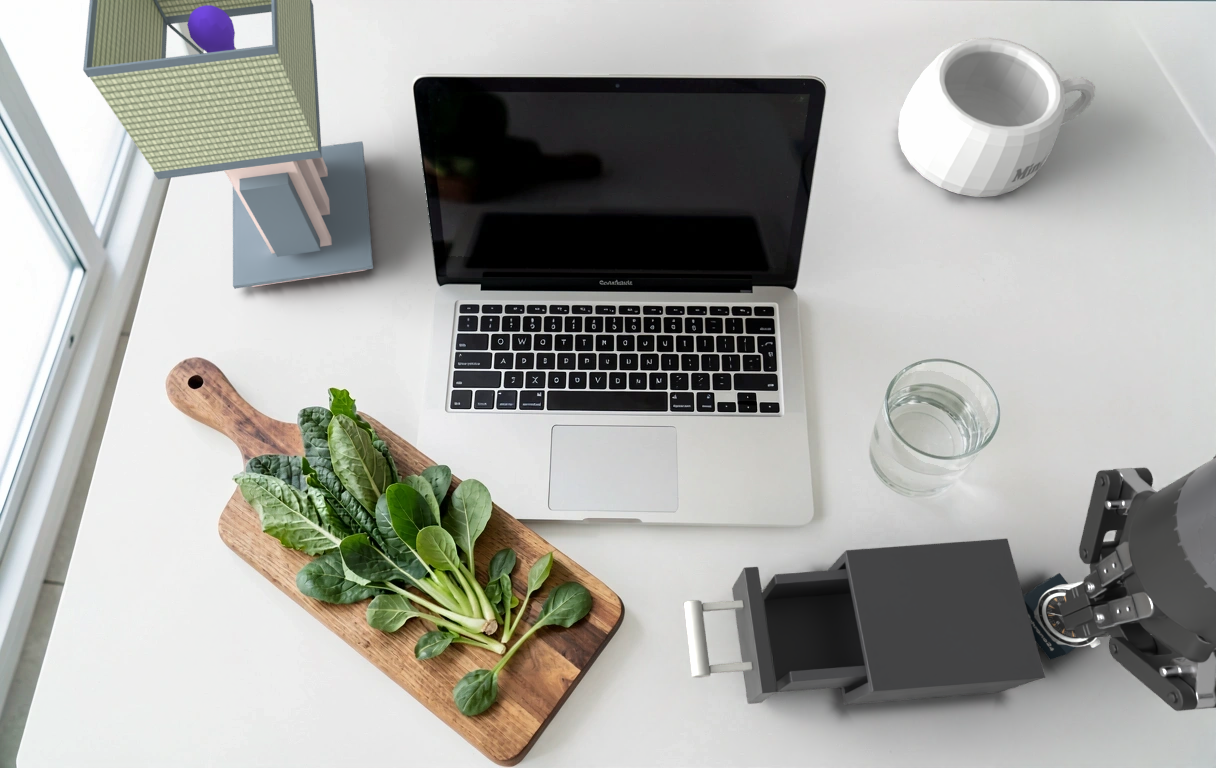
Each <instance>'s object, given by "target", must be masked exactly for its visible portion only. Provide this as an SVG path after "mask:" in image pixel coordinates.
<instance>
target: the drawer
mask: <svg viewBox="0 0 1216 768" xmlns="http://www.w3.org/2000/svg"><path fill="white" fill-rule="evenodd" d="M827 570H828V569H827ZM827 570H816V571H802V572H789V573H776V574H774V575H773V576H772V577H771V579H770V580H769V582H768V583H767V585H766V586H765V587H764V589H763V590H762V585H761V578H760V570H759V566H747V567H743V569H742V570H741V572H740V574H739V576H738V577H737V579H736V581H735V583H734V584H733V586H732V587H731V591H732V597H733V600H727V601H715V602H702V600H699V599H695V600H693V599H692V600H687V601H685V602H683V609H684V617H685V626H686V635H687V645H688V653H689V654H688V655H689V661H690V663H689V664H690V672H691V678H694V679H700V678H701V679H702V678H708V677H710V676H711V674H721V673H723V674H724V673H735V672H743V678H744V686H745V694H746V701H747V704H748V705H752V704H762V703H763V702H764V701H766V700H767V699H769V698H770V697H772V696H773V695H775V694H776V693H789V692H801V691H803V692H804V691H814V690H815V691H816V690H828V689H839V688H840V689H841V687H853V686H862V685H864V684H866V683H868V678H867V673H866V668H865V663H864V658H863V652H862V647H861V642H860V637H859V632H858V626H857V621H856V616H855V611H854V606H853V600H852V595H851V590H850V585H849V580H848V574H847V569H841V570H828V571H827ZM731 610H734V612H735V620H736V626H737V627H736V628H737V634H738V641H739V649H740V650H739V651H740V657H741V662H733V663H719V664H710V661H709V659H710V658H709V652H708V650H709V649H708V643H707V635H706V627H705V626H706V625H705V617H704V612H717V611H731Z"/></svg>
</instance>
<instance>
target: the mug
mask: <svg viewBox="0 0 1216 768" xmlns="http://www.w3.org/2000/svg"><path fill="white" fill-rule="evenodd" d="M1071 92H1080V96H1079V97H1078V98H1077V99H1076V101H1075V102H1073V103H1072V104H1071V105H1070V106H1068V107H1066V94H1068V93H1071ZM1095 96H1096V86H1095V84H1094V83H1093V81H1091V80H1089V79H1087V78H1085V77H1082V76H1081V77H1080V76H1078V77H1071V78H1067V79H1064V80H1061V77H1060V75H1059V74H1058V72H1057V70H1055V68H1054V67H1053V66H1052V64H1051V63H1050V62H1048V61H1047V59H1045V58H1044V57H1043V56H1042V55H1040V54H1039V53H1038V52H1036V51H1035V50H1033V49H1031V48H1029V47H1027V46H1026V45H1023V44H1020V43H1017V42H1015V41H1011V40H1008V39H1002V38H996V37H974V38H970V39H967V40H962V41H959V42H957V43H955V44H953V45H952V46H950V47H948V48H946V49H945V50H943V51H941V52H940V53H939V54H938V55H937V56H936V57H935V58H934V59H933V60H932V61H931V62H930V63H929V64H928V65H927V67H926V68H925V69H924V70H922V72H921V74H920V75H919V76H918V78H917V80H916V81H915V82H914V84H913V85H912V87H911V88H910V90H909V93H908V94H907V96H906V98H905V100H904V102H903V105H902V107H901V110H900V112H899V119H898V129H897V138H898V142H899V146H900V148H901V152H902V153H903V155H904V157H905V158H906V160H907V161H908V163H909V165H910V166H911V167H912V168H914V170H916V172H917V173H919V175H921V176H922V177H923V178H924V179H925V180H927V181H928V182H931V183H932V184H934V185H936V186H937V187H939V188H941V189H944V190H946V191H949V192H952V193H954V194H957V195H961V196H969V197H976V198H982V197H997V196H1000V195H1004V194H1007V193H1010V192H1013V191H1015V190H1016V189H1018V188H1019V187H1021V186H1023V185H1024V184H1026V183H1027V182H1029V181H1030V180H1031V179H1032V178H1033V177H1035V175H1036V174H1037V173H1038V171H1040V169H1041V168H1042V167H1043V166H1044V164H1045V163H1046V161H1047V159H1048V157H1049V155H1050V154H1051V153H1052V150H1053V148H1054V146H1055V143H1056V141H1057V138H1058V136H1059V132H1060V130H1061V126H1062V125H1064V124H1066V123H1068V122H1069V121H1071V120H1073V119H1076V118H1077V117H1078V116H1079V115H1081V114H1082V113H1083V112H1084V111H1086V109H1087V108H1089V106H1090V105H1091V103H1092V102H1093V101H1094V99H1095Z"/></svg>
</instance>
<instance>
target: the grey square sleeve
mask: <svg viewBox="0 0 1216 768" xmlns="http://www.w3.org/2000/svg"><path fill="white" fill-rule="evenodd" d="M1013 557H1014V556H1013V554H1012V550H1011V546H1010V542H1009V539H1008V538H995V539H981V540H980V539H979V540H969V541H968V540H967V541H954V542H953V541H951V542H941V543H939V542H938V543H928V544H927V543H926V544H913V545H899V546H886V547H871V548H857V549H846V550H845V551H843V553H842V554H841V555H840V556H839V557H838V558H837V559H836V560H835V562H833V563H832V565H831V566H830V567H829V568H828V569H827V570H826V571H828V570H841V569H847V574H848V580H849V585H850V590H851V595H852V600H853V606H854V611H855V616H856V621H857V626H858V632H859V637H860V642H861V647H862V652H863V658H864V663H865V668H866V673H867V678H868V683H866V684H864V685H862V686H853V687H841V688H840V690H841V695H842V700H843V705H845V706H846V705H858V704H870V703H872V704H873V703H884V702H897V701H908V700H909V701H910V700H920V699H921V700H923V699H933V698H947V697H957V696H971V695H973V696H974V695H986V694H996V693H1001V692H1005V691H1007V690H1012V689H1015V688H1017V687H1020V686H1024V685H1027V684H1030V683H1034V682H1036V681H1040V680H1043V679H1045V678H1046V675H1045V669H1044V666H1043V663H1042V659H1041V655H1040V651H1039V648H1038V644H1037V642H1036V641H1035V637H1034V634H1033V630H1032V626H1031V623H1030V619H1029V615H1028V612H1027V608H1026V605H1025V601H1024V597H1023V595H1024V594H1023V590H1022V586H1021V584H1020V580H1019V575H1018V571H1017V568H1016V564H1015V561H1014V558H1013Z"/></svg>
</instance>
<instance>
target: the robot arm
mask: <svg viewBox="0 0 1216 768" xmlns="http://www.w3.org/2000/svg"><path fill="white" fill-rule="evenodd" d="M1153 484H1154V478H1153V474H1152V472H1151V471H1150V469H1149V468H1147V467H1146V466H1145V467H1144V466H1143V467H1123V468H1121V467H1120V468H1112V469H1102V470H1099V471H1097V472H1096V475H1095V479H1094V482H1093V487H1092V492H1091V496H1090V501H1089V505H1088V509H1087V513H1086V517H1085V522H1084V525H1083V530H1082V534H1081V537H1080V538H1081V539H1080V543H1079V547H1078V554H1079V557H1080V560H1081V562H1082V563H1083V564H1085V565H1089V571H1090V572H1089V574H1088V575H1086V576H1085V577H1084V578H1083V580H1082V581H1083V583H1082V584H1080V585H1078V586H1076V587H1073V588H1071V589H1069V590H1067V592H1066V594H1065V599H1066V602H1065V603H1063V604H1060V605H1059V607H1060V611H1061V614H1062V617H1063V621H1064V625H1065V628H1066V630H1075V633H1076V636H1077V637H1079V638H1081V639H1086V638H1098V639H1099V638H1106V637H1110V638H1109V640H1108V644H1107V645H1108V651H1109V654H1110V656H1111V657H1112V658H1113V659H1114V660H1115V662H1117V663H1118V664H1119V665H1121V666H1122V667H1123V668H1124V669H1125V670H1126V671H1128V673H1130V674H1131V675H1132V676H1133V677H1135V678H1136V679H1137V680H1138V681H1139V682H1141V684H1143V685H1144V686H1146V688H1148V689H1149V690H1150V691H1151V692H1153V693H1154V694H1155V695H1156V696H1157V697H1158V698H1159V699H1161V700H1162V701H1163V702H1164V703H1165V704H1166V705H1168V706H1169V707H1170V708H1171V709H1172V710H1174V711H1176V712H1181V711H1182V712H1183V711H1193V710H1194V711H1195V710H1205V709H1206V710H1207V709H1216V455H1214V456H1213V457H1212V459H1210V460H1209V461H1207V462H1205V463H1204V464H1202V465H1200V466H1199V467H1196V468H1195V469H1193V470H1192V471H1190V472H1188V473H1187V474H1185V475H1183V476H1182V477H1180V478H1178V479H1176V480H1175V481H1173V482H1171V483H1170V484H1168V485H1166V486H1164V487H1163V488H1161V489H1159V490H1158V491H1156V490H1155V489H1154V488H1153ZM1112 531H1113V532H1114V531H1115V534H1114V538H1113V540H1108V541H1107V540H1106V541H1104V540H1105V536H1106V534H1107V533H1108V532H1112ZM1126 596H1127V597H1126Z"/></svg>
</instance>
